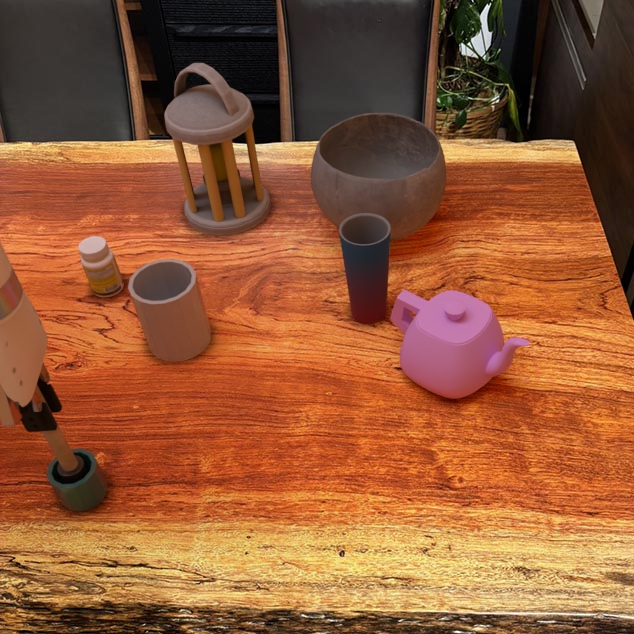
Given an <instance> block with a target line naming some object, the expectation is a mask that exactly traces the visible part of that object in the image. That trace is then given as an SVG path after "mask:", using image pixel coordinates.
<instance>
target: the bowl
mask: <svg viewBox="0 0 634 634" xmlns="http://www.w3.org/2000/svg"><path fill="white" fill-rule="evenodd" d="M310 182H311V183H310V184H311V189H312V194H313V196H314V199H315V202H316V203H317V206H318V208H319V209H320V211H321V212H322V214H323V216H324V217H325V218H326V219H327V220H328V221H329V222H330V223H331V224H332V225H334V227H335V228H336V229H338V230H339V227H340V225H341V223H342V222H343V221H344V220H345V219H346V218H348V217H350V216H352V215H355V214H360V213H372V214H377V215H380V216H382V217H384V218H385V219H386V220H387V221H388V222H389V224H390V226H391V235H390V243H391V242H397V241H399V240H403V239H405V238H407V237H409V236H411V235H414V233H417V232H418V231H420V230H421V229H422V228H424V227H425V226H426V225H427V224H428V223H429V222H430V221H431V220H432V218H433V217H434V216H435V214H436V213H437V212H438V210H439V207H441V203H442V201H443V198H444V195H445V190H446V185H447V166H446V157H445V153H444V150H443V147H442V143H441V141H440V139H439V138H438V136H437V135H436V134H435V132H434V131H433V130H432V129H430V127H428V125H426V124H425V123H423V122H421V121H417V120H416V119H415V118H412V117H410V116H406V115H403V114H398V113H393V112H369V113H362V114H357V115H353V116H352V117H348V118H346V119H344V120H341V121H340V122H338V123H336V124H334V125H333V126H331V127H329V128H328V129H327V130H326V131H325V132H323V134H322V135H321V136H320V138H319V140H318V143H317V145H316V147H315V149H314V152H313V155H312V161H311V167H310Z"/></svg>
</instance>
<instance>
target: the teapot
mask: <svg viewBox="0 0 634 634" xmlns="http://www.w3.org/2000/svg"><path fill="white" fill-rule="evenodd" d="M410 312H412V313H414V315H415V314H416V315H415V316H414V315H412V314H411V313H410ZM389 320H390V322H392V324H394V325H395V326H396V328H397V329H399V331H400V332H401V333H402V334H403V335H404V336H403V338H402V342H401V347H400V351H399V366H400V368H401V369H402V372H403V374H405V375H406V376H407V377H408V378H409V379H410V380H411V381H413V382H414V383H415V384H417V385H418V386H420V387H422V388H423V389H425V390H427V391H429V392H431V393H432V394H435V395H438V396H441V397H444V398H447V399H452V400H453V399H454V400H455V399H456V400H457V399H462V398H465V397H468V396H470V395H472V394H474V393H475V392H477V391H478V390H480V389H481V388H483V387H484V386H486V384H488V382H490V381H491V380H492V379H493V377H498V376H500V375H502V374H504V373H505V372H506V371H507V370H508V369H509V368H510V367H511V366H512V363H513V361H514V357H515V353H516V350H517V349H519V348H522V347H528V346H529V345H530V344H531V342H530V340H528V339H526V338H523V337H518V336H517V337H515V336H514V337H510V338H508V339H507V340H506V341H505V337H504V332H503V329H502V326H501V323H500V321H499V319H498V317H497V315H496V313H495V312H494V310H493V309H492V307H490V305H489V304H488V303H486V302H484V301H482V300H481V299H479V298H477V297H475V296H473V295H470V294H467V293H465V292H462V291H458V290H453V289H452V290H450V289H449V290H445V291H442V292H440V293H438V294H436V295H434V296H433V297H432V298H431V299H429V300H426V299H425V298H423V297H420V296H418V295H417V294H415V293H413V292H410V291H408V290H406V289H403V290H402V291H401V292H400V293H399V294H398V295H397V296H396V299H395V300H394V305H393V307H392V311H391V315H390V318H389Z"/></svg>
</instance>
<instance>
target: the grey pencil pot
mask: <svg viewBox="0 0 634 634" xmlns="http://www.w3.org/2000/svg"><path fill="white" fill-rule="evenodd" d="M127 289H128V292H129V295H130V298H131V301H132V303H133V307H134V309H135V312H136V315H137V318H138V321H139V323H140V326H141V329H142V332H143V335H144V338H145V340H146V344H147V346H148V348H149V351H150V353H151V354H152V355H153V356H154V357H155V358H157V359H159V360H162V361H165V362H171V363H177V362H184V361H187V360H188V361H189V360H191V359H193V358H195V357H197V356H199V355H200V354H202V352H204V351H205V350H206V349H207V347H209V345H210V342H211V339H212V329H211V325H210V322H209V321H210V320H209V318H208V314H207V310H206V306H205V303H204V302H205V301H204V298H203V295H202V291H201V287H200V283H199V279H198V276H197V273H196V271H195V269H194V267H193V266H192V265H190V264H189V263H187V262H186V261H184V260H180V259H175V258H164V259H157V260H154V261H150V262H148V263H146V264H144V265H142V266H140V267H139V268H138V269H136V270H135V271H134V272H133V274H132V275H131V276H130V277H129V281H128V284H127Z"/></svg>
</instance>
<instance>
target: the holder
mask: <svg viewBox="0 0 634 634" xmlns="http://www.w3.org/2000/svg"><path fill="white" fill-rule="evenodd" d="M71 450H72V452H73V454H74V455H77V456H80V457H81V458H82V459H83V461H84V463H85V465H86V467H87V468H88V470H89V473H88V474H87V475H86V476H85V477H84V478H83V479H81V480H79V481H77V482H75V483H73V484H65V483H64V482H63V480H62V478H61V476H60V475H59V473H58V471H57V467H58V464H59V461H58V460H57V458H56V456H55V457H54V458H53V459H52V461H50V463H49V464H48V467H47V470H46V478H47V480H48V482H49V484H50V486H51V488H52V489H53V491H54V492H55V494H56V496H57V498H58V500H59V501H60V503H61V505H62V506H63V507H65V508H66V509H67V510H69V511H71V512H76V513H77V512H87V511H89V510H91V509H95V507H97V506H98V505H100V504H101V503H102V501H104V499H105V498H106V496H107V494H108V491H109V483H108V480H107V478H106V476H105V474H104V472H103V470H102V468H101V466H100V464H99V462H98V460H97V459H96V456H95V455H94V453H93V452H92V451H90V450H87V449H85V448H83V447H82V448H71Z"/></svg>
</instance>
